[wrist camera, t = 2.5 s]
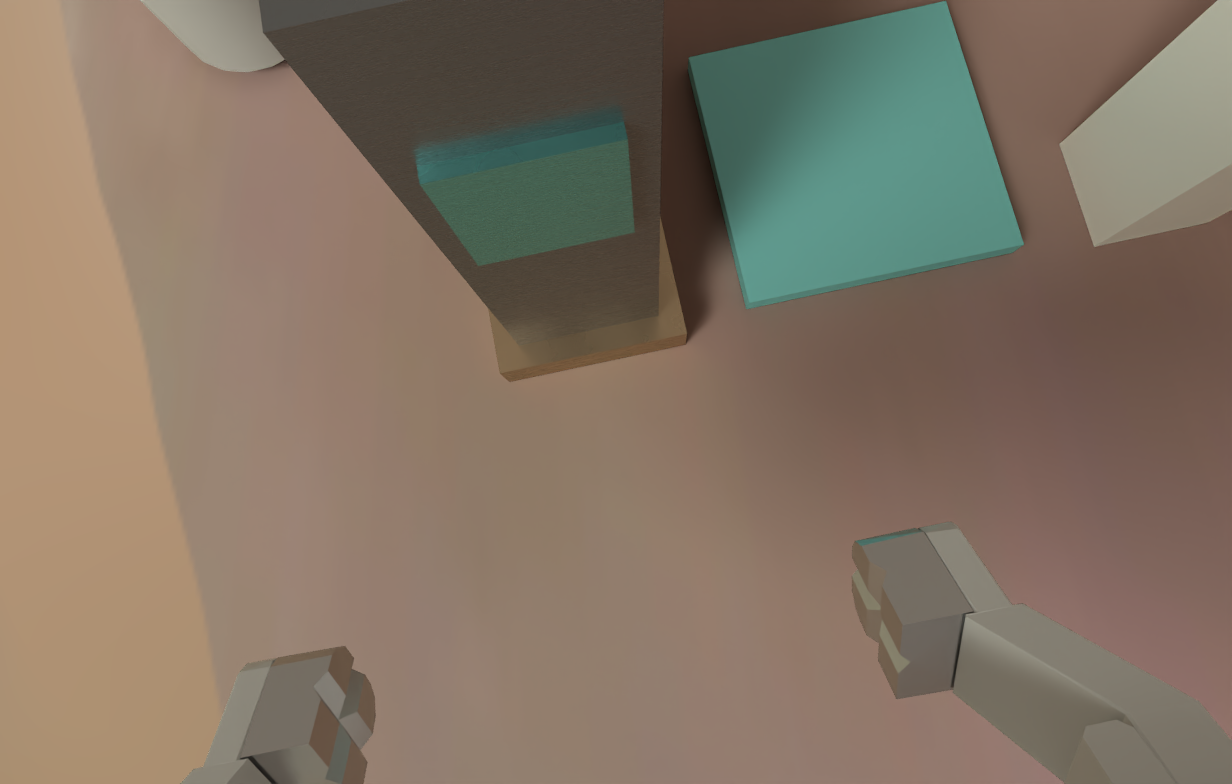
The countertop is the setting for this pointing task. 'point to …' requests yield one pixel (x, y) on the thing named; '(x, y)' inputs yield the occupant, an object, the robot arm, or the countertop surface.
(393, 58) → the mounted unit
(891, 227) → the pad
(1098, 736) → the robot arm
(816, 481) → the countertop surface
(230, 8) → the can
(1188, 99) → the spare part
